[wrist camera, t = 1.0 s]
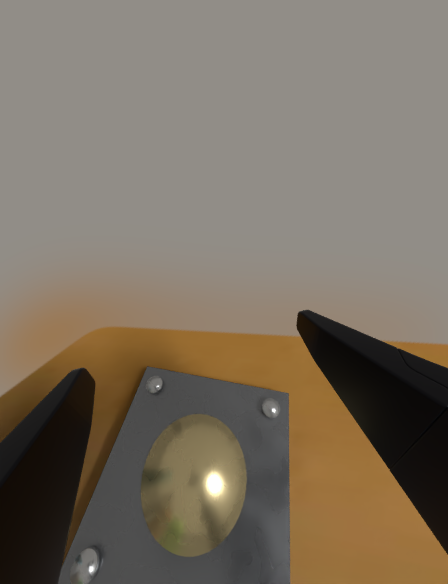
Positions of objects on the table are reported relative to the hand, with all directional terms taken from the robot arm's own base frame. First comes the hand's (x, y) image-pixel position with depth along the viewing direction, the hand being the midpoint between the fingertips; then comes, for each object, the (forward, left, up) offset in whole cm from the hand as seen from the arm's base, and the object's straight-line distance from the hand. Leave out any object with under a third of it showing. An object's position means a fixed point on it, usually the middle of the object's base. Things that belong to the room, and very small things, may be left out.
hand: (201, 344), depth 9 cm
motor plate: (-5, +1, -16) cm, 16 cm away
